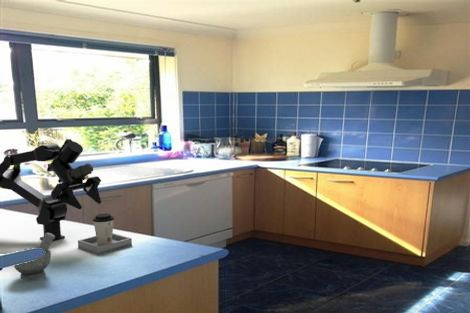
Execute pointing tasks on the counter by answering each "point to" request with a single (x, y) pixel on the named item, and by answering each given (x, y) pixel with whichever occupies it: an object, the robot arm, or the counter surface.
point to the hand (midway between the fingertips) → (90, 205)
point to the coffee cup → (103, 228)
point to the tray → (116, 244)
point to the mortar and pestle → (36, 262)
